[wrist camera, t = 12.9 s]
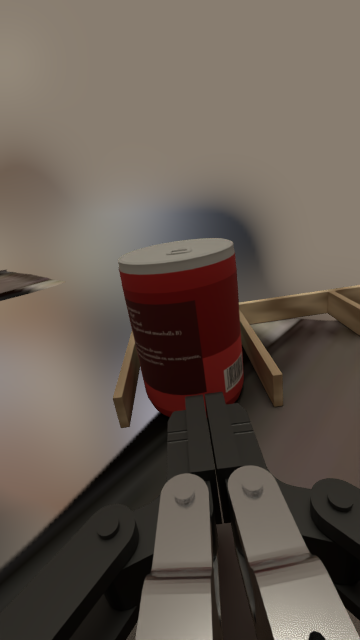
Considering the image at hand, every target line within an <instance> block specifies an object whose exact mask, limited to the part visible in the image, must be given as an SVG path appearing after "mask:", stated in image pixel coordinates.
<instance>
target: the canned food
mask: <svg viewBox="0 0 360 640" xmlns="http://www.w3.org/2000/svg"><path fill="white" fill-rule="evenodd" d="M118 263H119V272H120V277H121V281H122V287H123V291H124V296H125V300H126V305H127V309H128V314H129V318H130V322H131V326H132V331H133V336H134V340H135V344H136V349H137V353H138V358H139V362H140V366H141V371H142V375H143V380H144V384H145V388H146V392H147V395H148V398H149V399H150V401H151V402H152V404H153V405H154V407H155V408H156V409H157V410H158V411H159V412H161V413H162V414H164V415H166V416H168V417H171V415H172V413H173V412H174V411H181V410H186V406H185V397H186V396H194V395H201V394H203V398H204V405H205V411H206V417H207V410H206V403H205V395H204V394H208V393H215V392H223V395H224V399H225V403H226V404H233V403H235V401H236V400H237V399H238V397H239V395H240V393H241V389H242V386H243V380H244V373H243V359H242V344H241V329H240V314H239V299H238V285H237V270H236V262H235V251H234V247H233V242H232V241H230V240H226V239H220V238H207V239H192V240H183V241H176V242H170V243H164V244H159V245H154V246H150V247H145V248H141V249H138V250H135V251H132V252H129V253H127V254H125V255H123V256H122V257H121V258H119V260H118Z"/></svg>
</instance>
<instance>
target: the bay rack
mask: <svg viewBox="0 0 360 640" xmlns="http://www.w3.org/2000/svg"><path fill="white" fill-rule="evenodd" d="M324 313H328V314H329V315H331V316H332V317H334V318H335V319H337V320H338V321H339V322H341V323H342V324H344V325H345V326H347V327H348V328H350V329H351V330H352V331H354V332H355V333H357V334H358V335H360V285H357V286H350V287H344V288H336V289H330V290H323V291H316V292H309V293H302V294H295V295H289V296H282V297H275V298H268V299H261V300H254V301H248V302H241V303H239V314H240V329H241V344H242V345H243V347H244V349H245V351H246V353H247V355H248V357H249V359H250V361H251V363H252V365H253V367H254V369H255V371H256V373H257V375H258V376H259V378H260V380H261V382H262V384H263V386H264V388H265V390H266V392H267V394H268V396H269V398H270V400H271V402H272V404H273V406H274V407H276V406H283V381H282V373H281V371H280V370H279V368H278V367H277V365H276V364H275V362H274V361H273V359H272V358H271V356H270V355H269V353H268V352H267V350H266V349H265V347H264V346H263V344H262V343H261V341H260V340H259V338H258V337H257V335H256V334H255V332H254V331H253V329H252V328H251V326H250V325H249V324H255V323H262V322H269V321H276V320H283V319H289V318H296V317H303V316H310V315H317V314H324ZM139 370H140V362H139V358H138V353H137V349H136V344H135V340H134V336H133V331H132V333H131V336H130V340H129V343H128V347H127V350H126V354H125V357H124V361H123V364H122V368H121V371H120V375H119V378H118V382H117V385H116V389H115V392H114V396H113V401H114V404H115V408H116V412H117V416H118V419H119V423H120V426H121V428H125V427H130V421H131V416H132V410H133V404H134V398H135V393H136V386H137V381H138V375H139Z"/></svg>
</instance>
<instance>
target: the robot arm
mask: <svg viewBox="0 0 360 640" xmlns="http://www.w3.org/2000/svg"><path fill="white" fill-rule="evenodd" d="M204 395H205V403H206V410H207V417H206V411H205V405H204V398H203V394H201V395H194V396H186V397H185V406H186V410H181V411H174V412H173V413H172V415H171V417H170V418H169V420H168V438H167V442H168V443H167V480H166V484H165V485H164V487H163V489H162V492H161V494H160V495H159V496H158V497H157V498H156V499H155V500H154V501H152V502H151V503H149V504H147V505H145V506H143V507H141V508H138V509H136V510H134V511H131V509H129V508H128V507H127V506H125V505H122V504H111V505H108V506H105V507H103V508H102V509H100V510H99V511H97V512H96V513H95V514H94V515H93V516H92V517H91V518H90V519H89V520H88V521H87V522H86V523H85V524H84V525H83V526H82V527H81V529H80V530H79V531H78V532H77V533H76V534H75V535H74V536H73V537H72V538H71V539H70V540H69V541H68V542H67V543H66V544H65V545H64V547H63V548H62V549H61V550H60V551H59V552H58V553H57V554H56V555H55V556H54V557H53V558H52V559H51V560H50V561H49V562H48V563H47V565H46V566H45V567H44V568H43V569H42V570H41V571H40V572H39V573H38V574H37V575H36V576H35V577H34V578H33V579H32V580H31V581H30V583H29V584H28V585H27V586H26V587H25V588H24V589H23V590H22V591H21V592H20V593H19V594H18V595H17V596H16V597H15V598H14V599H13V601H12V602H11V603H10V604H9V605H8V606H7V607H6V608H5V609H4V610H3V611H2V612H1V613H0V640H126V639H127V637H128V636H129V634H130V632H131V631H132V629H133V628H134V626H135V624H136V623H137V621H138V625H137V632H136V640H223V628H222V612H221V596H220V580H219V563H218V535H217V528H216V524H222V519H221V512H220V504H219V497H218V489H217V482H218V488H219V494H220V500H221V507H222V513H223V519H224V523H231V526H232V532H233V537H234V545H235V552H236V556H237V560H238V564H239V568H240V572H241V576H242V580H243V584H244V588H245V592H246V596H247V600H248V604H249V608H250V612H251V616H252V620H253V624H254V628H255V632H256V637H257V640H360V638H359V636H358V634H357V632H356V629H355V627H354V625H353V623H352V621H351V619H350V617H349V615H348V613H347V611H346V609H347V610H349V611H350V612H351V613H352V614H353V615H354V616H355V617H356V618H357V619H359V620H360V489H358V488H357V487H355V486H353V485H352V484H350V483H348V482H345V481H343V480H339V479H333V478H327V479H322V480H320V481H318V482H316V483H315V484H314V485H313V487H312V489H307V488H301V487H296V486H291V485H288V484H285V483H283V482H281V481H279V480H278V479H276V478H275V477H274V476H273V475H272V474H271V473H270V472H269V470H268V469H267V466H266V464H265V461H264V459H263V456H262V453H261V450H260V447H259V444H258V442H257V439H256V436H255V433H254V431H253V428H252V425H251V423H250V419H249V416H248V414H247V411H246V410H245V409H244V408H243V407H242V406H241V405H240V404H239V403H233V404H226V403H225V399H224V395H223V392H215V393H208V394H204ZM207 418H208V423H207ZM208 425H209V430H208ZM209 432H210V436H209ZM210 439H211V442H210ZM211 445H212V448H211ZM212 451H213V455H212ZM213 457H214V461H213ZM214 463H215V467H214ZM215 470H216V474H215ZM216 476H217V482H216ZM345 608H346V609H345Z"/></svg>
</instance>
